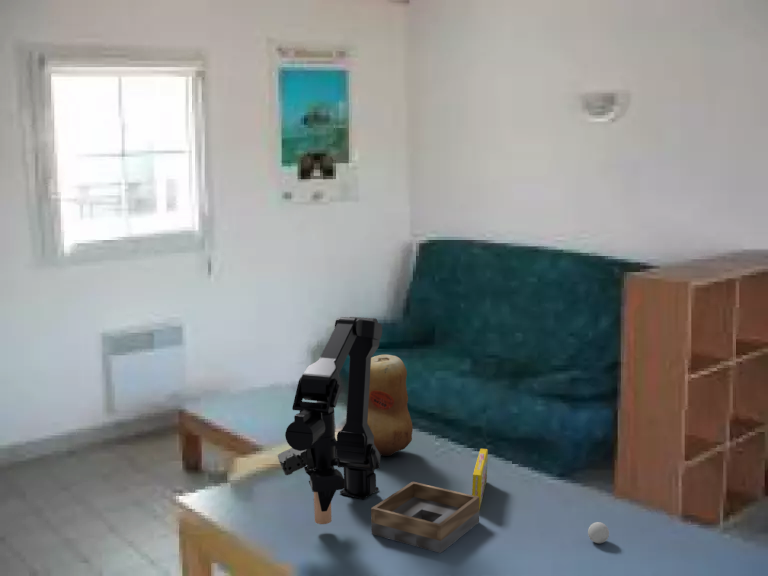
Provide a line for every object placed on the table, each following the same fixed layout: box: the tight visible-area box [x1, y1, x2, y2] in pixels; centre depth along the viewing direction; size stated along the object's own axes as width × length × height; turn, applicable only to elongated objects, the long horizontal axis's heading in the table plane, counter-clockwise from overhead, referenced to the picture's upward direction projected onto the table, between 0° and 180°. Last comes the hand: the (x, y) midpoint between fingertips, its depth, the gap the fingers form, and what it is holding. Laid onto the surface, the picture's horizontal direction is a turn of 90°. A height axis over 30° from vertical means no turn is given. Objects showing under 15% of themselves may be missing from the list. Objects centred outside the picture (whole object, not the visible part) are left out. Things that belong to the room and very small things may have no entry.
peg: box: [313, 492, 333, 525], centre depth 183 cm, size 3×3×8 cm
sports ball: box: [587, 521, 610, 544], centre depth 178 cm, size 4×4×4 cm
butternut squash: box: [368, 354, 414, 457], centre depth 225 cm, size 14×13×25 cm
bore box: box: [370, 481, 480, 554], centre depth 185 cm, size 16×16×6 cm
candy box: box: [471, 448, 489, 511], centre depth 200 cm, size 16×2×8 cm, turn 168°
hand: (322, 507), depth 184 cm, fingers closed on peg, 3 cm apart
